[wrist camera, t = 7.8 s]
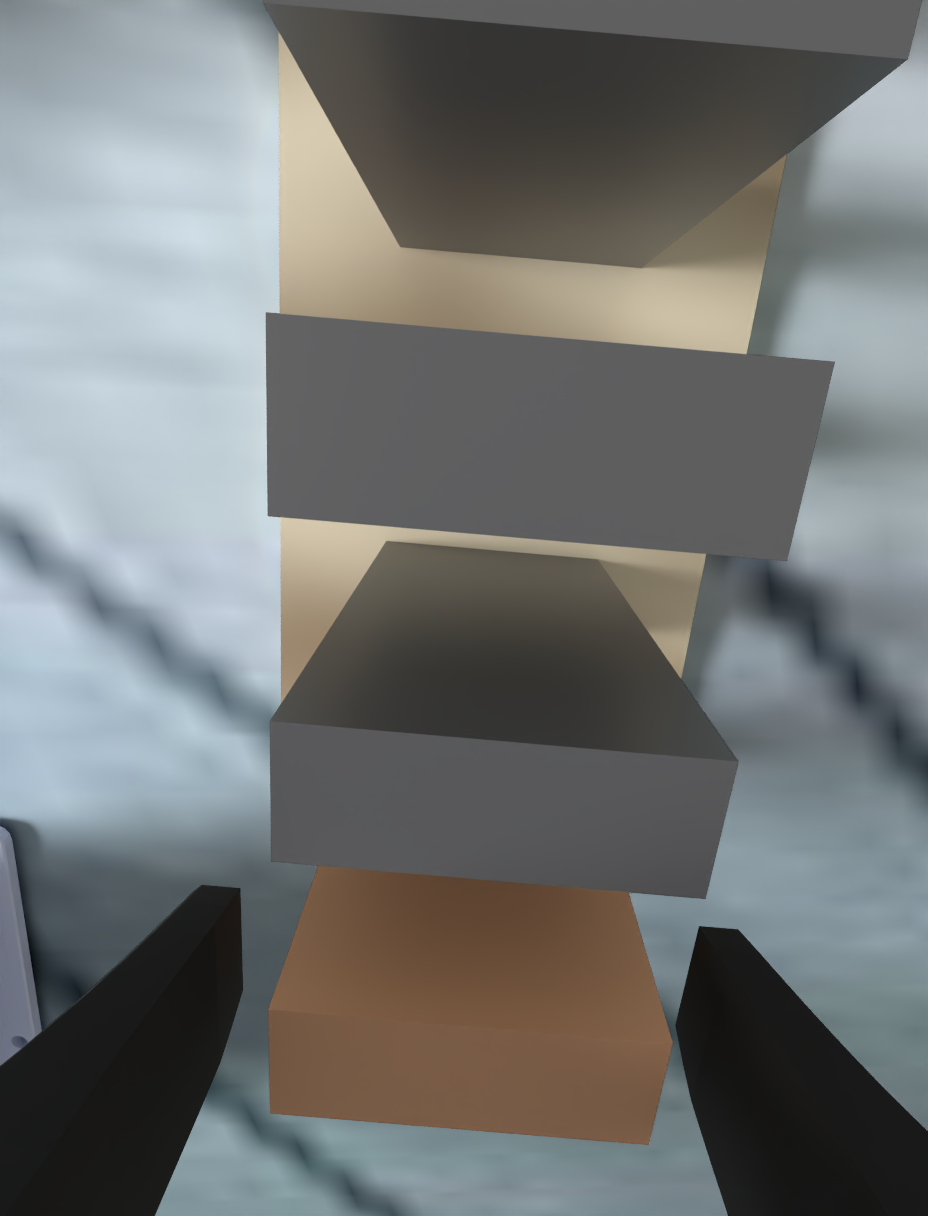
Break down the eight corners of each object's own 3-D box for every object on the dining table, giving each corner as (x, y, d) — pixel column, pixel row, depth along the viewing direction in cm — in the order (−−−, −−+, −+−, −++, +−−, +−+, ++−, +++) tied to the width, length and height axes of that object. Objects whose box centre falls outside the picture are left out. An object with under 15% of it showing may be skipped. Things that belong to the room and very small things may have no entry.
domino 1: (641, 268, 14) (908, 60, 5) (400, 246, 14) (263, 3, 5) (656, 167, 13) (981, -254, 5) (404, 145, 13) (260, -319, 5)
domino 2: (612, 464, 15) (786, 561, 6) (390, 445, 15) (268, 516, 6) (624, 380, 14) (834, 362, 6) (394, 360, 14) (265, 312, 6)
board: (643, 814, 19) (651, 835, 18) (290, 784, 19) (280, 802, 18) (833, -159, 12) (860, -201, 11) (290, -206, 12) (276, -252, 11)
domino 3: (587, 630, 16) (705, 899, 8) (382, 612, 16) (271, 861, 8) (597, 559, 16) (738, 761, 7) (386, 540, 16) (269, 721, 7)
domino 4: (565, 771, 17) (648, 1144, 9) (375, 756, 17) (270, 1113, 9) (574, 710, 17) (672, 1043, 8) (377, 693, 17) (267, 1008, 8)
